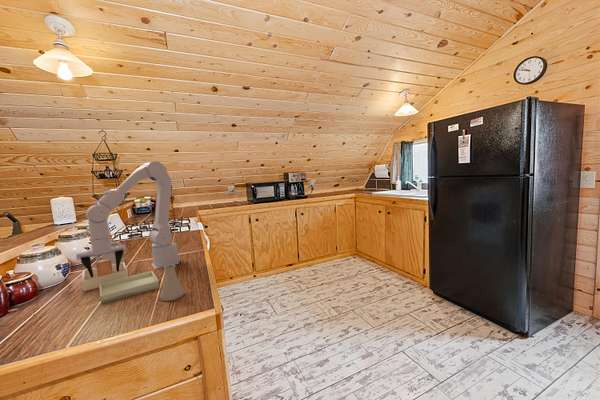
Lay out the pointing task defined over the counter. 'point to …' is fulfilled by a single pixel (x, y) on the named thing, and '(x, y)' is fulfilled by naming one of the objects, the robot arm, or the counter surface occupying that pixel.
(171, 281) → the flask
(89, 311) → the counter surface
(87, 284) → the box
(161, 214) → the robot arm
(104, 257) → the cup
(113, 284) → the tray
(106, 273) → the peg
